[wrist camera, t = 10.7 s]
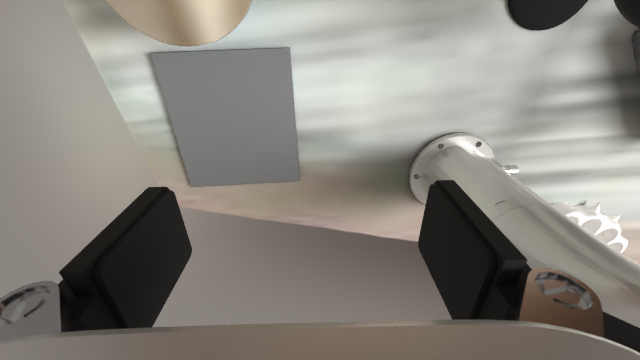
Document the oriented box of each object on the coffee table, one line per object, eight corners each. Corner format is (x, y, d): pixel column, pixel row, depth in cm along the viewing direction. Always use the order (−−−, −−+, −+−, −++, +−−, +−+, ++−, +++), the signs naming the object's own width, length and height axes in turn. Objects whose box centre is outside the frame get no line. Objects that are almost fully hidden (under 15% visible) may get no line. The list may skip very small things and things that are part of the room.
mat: (289, 47, 33) (289, 47, 32) (299, 179, 42) (299, 181, 41) (152, 52, 32) (149, 53, 32) (192, 184, 41) (191, 187, 41)
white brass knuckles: (502, 243, 52) (569, 183, 46) (562, 271, 57) (629, 221, 51) (514, 256, 49) (587, 194, 43) (576, 285, 54) (649, 233, 48)
